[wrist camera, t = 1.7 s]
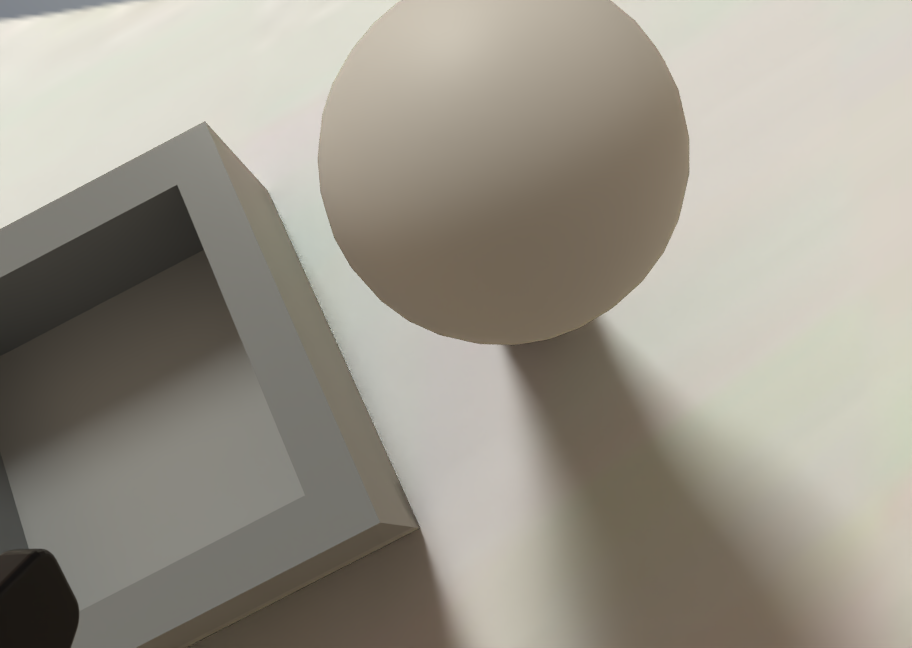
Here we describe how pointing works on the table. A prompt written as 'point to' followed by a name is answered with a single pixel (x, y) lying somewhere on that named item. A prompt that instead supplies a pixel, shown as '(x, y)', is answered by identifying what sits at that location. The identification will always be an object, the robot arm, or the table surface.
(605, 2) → the lightbulb
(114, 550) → the socket
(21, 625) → the robot arm
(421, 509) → the table surface
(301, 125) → the table surface
